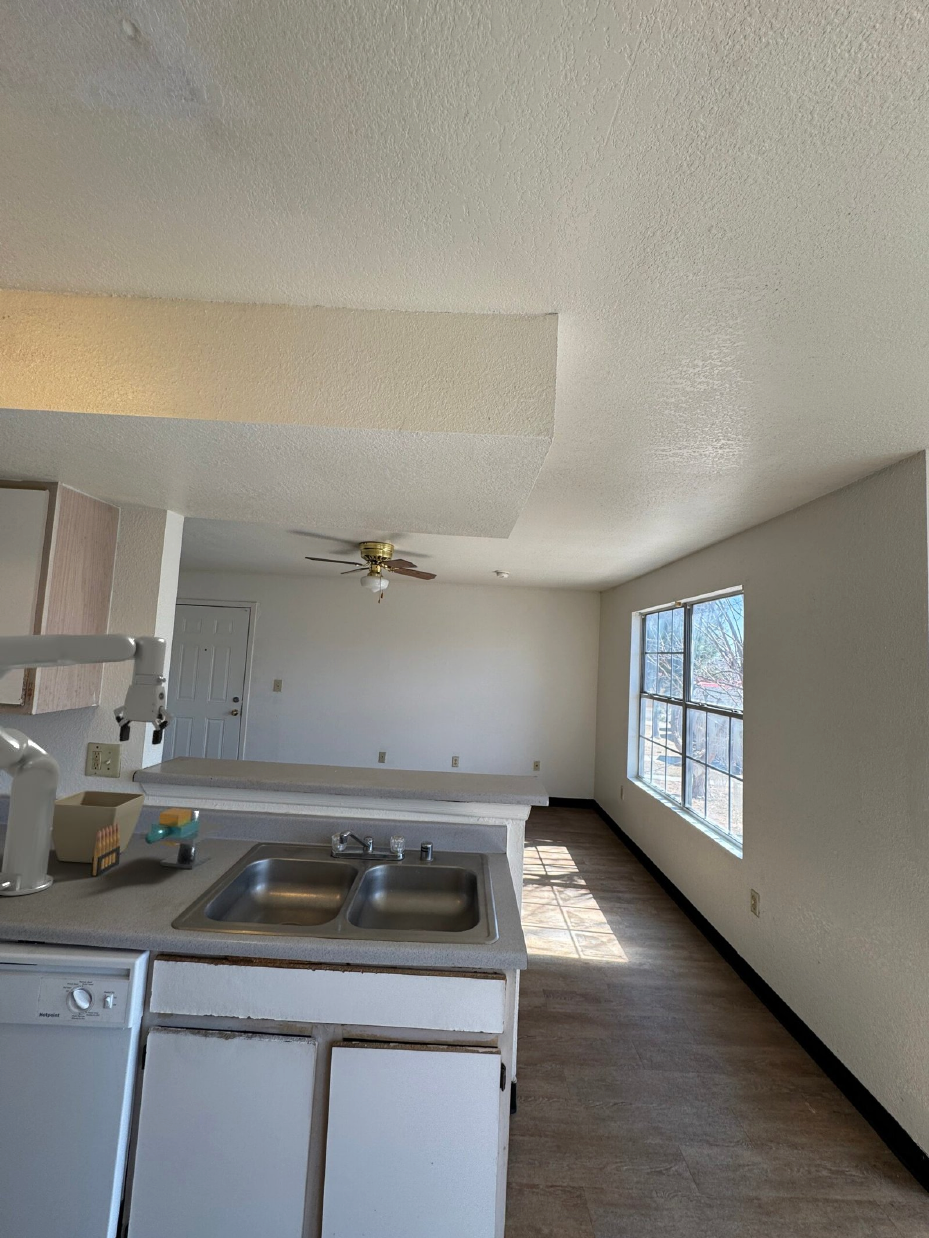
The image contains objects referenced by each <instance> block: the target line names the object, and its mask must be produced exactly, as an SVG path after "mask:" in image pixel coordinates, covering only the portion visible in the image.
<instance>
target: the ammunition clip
mask: <svg viewBox="0 0 929 1238" xmlns="http://www.w3.org/2000/svg"><path fill="white" fill-rule="evenodd" d="M120 854H121V853H120V846H119V823H118V822H117V825H116V827H115V824H114V826H113V828H112V827H111V825H110V826H109V828H108V827H106V828H105V831H104V829H102V831H101V832H100V830H99V831H98V833H97V837H96V844H95V849H94V856H93V858H92V863H91V870H90V877H100V876H101V875H102V874H105V873H106V872H107V871H110V870H111V869H112V868H114V867H116V866H118V865H120Z"/></svg>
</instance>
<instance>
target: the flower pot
mask: <svg viewBox="0 0 929 1238" xmlns="http://www.w3.org/2000/svg"><path fill="white" fill-rule="evenodd" d="M145 798H146V794H145V793H133V792H119V791H118V792H117V791H102V790H89V789H88V790H81V791H79V792H76V793H73V794H70V795H67V796H64V797H61V798H58V799H55V808H54V816H53V825H52V834H51V839H52V842H53V843H52V844H53V845H54V850H55V854H56V856H57V859H58V861H60V862H70V863H71V862H73V863H90V864H92V858H93V856H94V849H95V844H96V837H97V833H98V831H99V830H100V832H101V831H102V829H104V831H105V828H106V827H108V828H109V826H110V825H111V827H112V828H113V826H114V824H115V827H116V825H117V822H118V823H119V846H120V854H121V853H123V852H124V851H125V850H126V847H127V846H128V843H129V841H130V840H131V838H132V835H133V833H134V830H135V828H136V826H137V823H138V820H139V818H140V814H141V812H142V809H143V806H144V802H145Z"/></svg>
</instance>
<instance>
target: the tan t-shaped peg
mask: <svg viewBox="0 0 929 1238" xmlns="http://www.w3.org/2000/svg"><path fill="white" fill-rule="evenodd" d="M188 809H189V808H178V807H172V808H169V809H167V810H164V811H163V812H160V813H159V819H158V821H159V824H163V825H172V826H179V825H181V824H183V823H186V822H188V821H190V820H191V810H188ZM163 842H164V841H163ZM179 844H180V843H172V842H164V843H163V845H168V846H177V845H178V846H179Z"/></svg>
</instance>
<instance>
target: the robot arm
mask: <svg viewBox="0 0 929 1238" xmlns="http://www.w3.org/2000/svg"><path fill="white" fill-rule="evenodd" d="M166 650H167V641H166V639H165V638H163V637H159V636H147V635H146V636H145V635H143V636H134V635H129V634H126V633H122V632H120V633H119V632H118V633H106V634H105V633H103V634H101V633H100V634H68V633H51V634H49V633H48V634H30V635H29V634H27V635H2V636H1V635H0V681H1V680H3V678H5V677H6V676H7V675H8V674H9V673H10V672H12V671H13V670H22V669H35V668H39V669H40V668H52V667H53V668H54V667H55V668H56V667H57V668H58V667H68V666H75V665H86V664H87V665H88V664H104V663H121V662H126V661H134V662H133V669H132V677H131V684H129V686H128V687H127V691H126V694H125V699H124V704H123V705H121V706H119V707H117V708H115V709H114V710H113V714H114V717H115V721H116V722H117V724H118V727H120V728H119V737H118V738H119V740H118V741H119V742H126V741H129V740H130V735H131V723H132V722H138V723H139V722H140V723H151V724H152V726H153V727H154V730H153V731H152V739H151V745H154V746H156V745H160V744H162V741H163V733H164V730H165V729H166V728H167V727H168V726H169V725H171V724H170V723H171V721H172V720H173V718H174V714H173V713H172V712H170V711H169V710H168V709H166V706H167V704H166V702H167V701H166V689H165V686H163V683H166V682H167V678H166V677H164V667H165V657H166V652H167V651H166ZM60 768H61V767H60V764H59V763H58V761H57V760H56V759H55V758H54V757H53V756H52V755H51V754H50V753H49V752H47V751H46V750H44V748H42V747H41V746H40V745H38V743H36V742H35V741H33V740H32V739H31V738H30V737H29V736H27V735H26V734H25V733H24V732H22V731H20V730H18V729H15V728H12V727H11V728H10V727H5V728H4V727H3V726H2V725H0V771H4V772H5V774H8V775H9V776H10V777H12V780H11V785H10V786H11V787H10V795H9V796H10V797H9V809H8V817H7V818H8V819H7V827H6V835H5V843H4V851H3V859H2V864H1V865H2V866H1V872H0V896H1V895H2V896H20V895H21V896H23V895H29V894H33V893H34V894H35V893H37V892H42V891H43V890H45V889H48V888H49V887H50V886H52V884H53V882H54V878H53V876H51V875H49V874H47V873H48V867H49V866H48V865H49V858H50V849H51V843H52V842H51V841H52V840H51V839H52V825H53V816H54V808H55V801H56V800H57V799H56V798H57V789H58V785H59V780H60V775H61V769H60Z"/></svg>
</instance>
